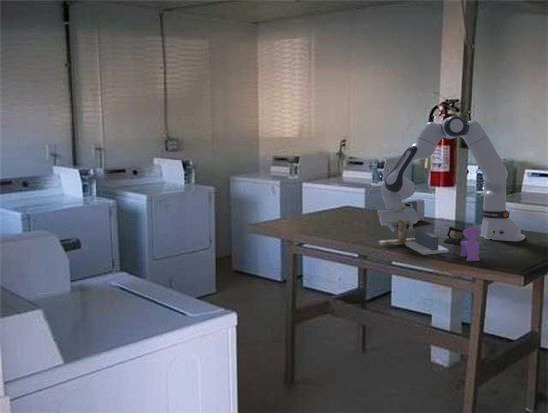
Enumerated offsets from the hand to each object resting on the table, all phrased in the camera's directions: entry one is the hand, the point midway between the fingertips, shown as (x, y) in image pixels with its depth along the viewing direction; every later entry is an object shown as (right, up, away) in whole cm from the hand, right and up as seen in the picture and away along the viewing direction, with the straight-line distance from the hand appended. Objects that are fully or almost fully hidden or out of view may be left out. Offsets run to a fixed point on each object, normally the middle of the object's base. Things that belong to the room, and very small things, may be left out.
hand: (402, 230), depth 312 cm
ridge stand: (+9, -8, -12) cm, 17 cm away
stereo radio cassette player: (+14, +3, +54) cm, 56 cm away
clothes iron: (+27, -7, -1) cm, 28 cm away
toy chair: (+24, -12, -31) cm, 41 cm away
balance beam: (0, -7, +2) cm, 7 cm away
